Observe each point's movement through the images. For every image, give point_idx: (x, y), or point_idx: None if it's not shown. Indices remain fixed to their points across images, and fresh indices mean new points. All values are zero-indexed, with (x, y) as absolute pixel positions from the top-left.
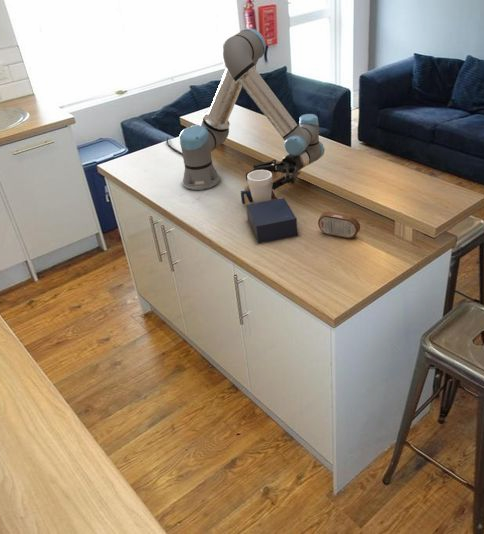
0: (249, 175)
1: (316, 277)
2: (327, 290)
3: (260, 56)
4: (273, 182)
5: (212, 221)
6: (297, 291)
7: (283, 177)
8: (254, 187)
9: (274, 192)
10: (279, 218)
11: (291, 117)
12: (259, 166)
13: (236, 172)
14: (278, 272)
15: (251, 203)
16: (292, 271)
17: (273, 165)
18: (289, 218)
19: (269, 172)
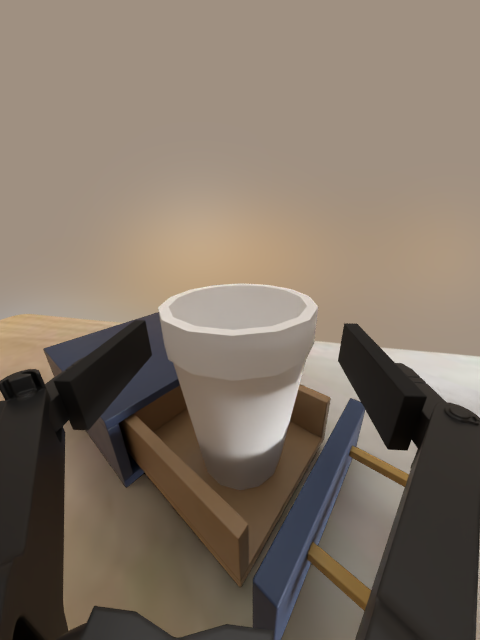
0: (293, 299)
1: (31, 336)
2: (17, 328)
3: None
4: (139, 322)
5: (320, 362)
6: (69, 318)
7: (72, 367)
8: (232, 320)
9: (199, 484)
10: (104, 336)
11: None
12: (474, 442)
13: None
14: (103, 327)
15: (300, 444)
16: (78, 333)
17: (373, 610)
18: (69, 342)
19: (195, 326)
